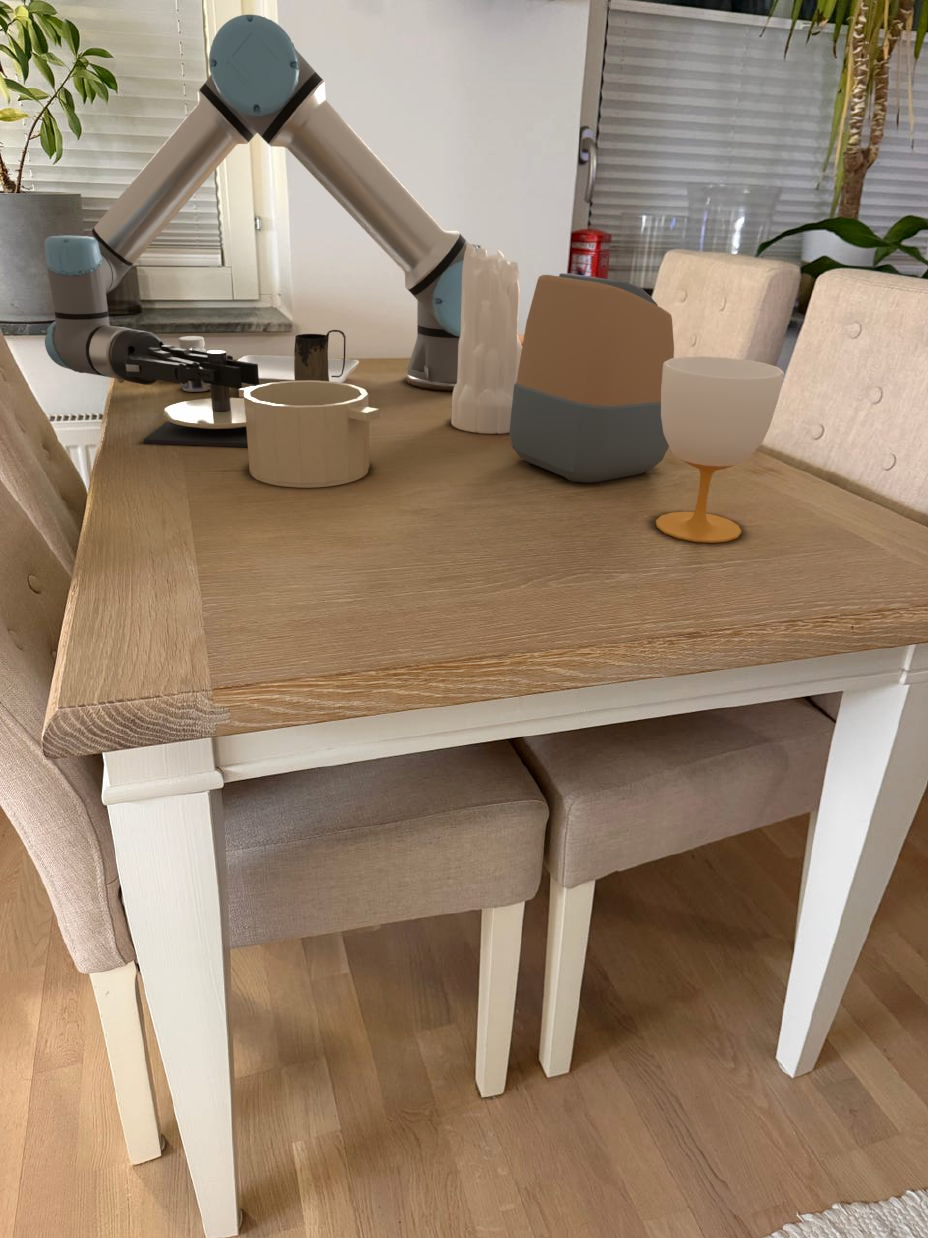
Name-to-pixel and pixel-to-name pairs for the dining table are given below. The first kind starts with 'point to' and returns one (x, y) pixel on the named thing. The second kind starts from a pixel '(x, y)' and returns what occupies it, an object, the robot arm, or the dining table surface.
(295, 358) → the mug
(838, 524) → the dining table surface
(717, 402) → the cup
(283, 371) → the plate
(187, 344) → the pill bottle
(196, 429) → the trivet
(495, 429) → the decorative vase
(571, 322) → the two-tone home speaker
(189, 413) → the cooker lid
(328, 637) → the dining table surface
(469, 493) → the dining table surface
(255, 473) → the cooker
